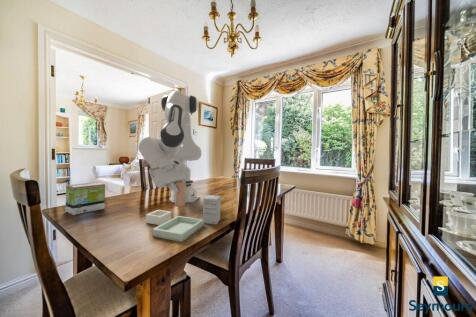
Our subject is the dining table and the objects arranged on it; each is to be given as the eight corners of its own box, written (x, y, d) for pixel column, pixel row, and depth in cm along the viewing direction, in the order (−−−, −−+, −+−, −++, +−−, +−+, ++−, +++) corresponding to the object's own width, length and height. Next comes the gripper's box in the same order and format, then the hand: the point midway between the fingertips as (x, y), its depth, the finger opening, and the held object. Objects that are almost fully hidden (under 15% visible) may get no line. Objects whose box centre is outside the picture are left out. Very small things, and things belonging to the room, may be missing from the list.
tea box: (73, 215, 102) (74, 187, 101) (65, 212, 107) (65, 184, 106) (105, 208, 115) (105, 183, 114) (96, 205, 120) (96, 181, 119)
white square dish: (157, 217, 104) (157, 209, 104) (171, 219, 102) (171, 211, 101) (145, 222, 96) (145, 214, 96) (160, 225, 94) (160, 216, 93)
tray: (178, 221, 99) (178, 215, 99) (203, 225, 95) (203, 219, 95) (152, 236, 82) (152, 229, 82) (182, 242, 78) (182, 234, 78)
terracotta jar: (178, 203, 91) (179, 181, 90) (187, 204, 89) (187, 182, 89) (172, 205, 86) (173, 182, 86) (181, 206, 85) (182, 183, 85)
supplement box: (206, 218, 105) (207, 194, 105) (220, 219, 104) (221, 195, 104) (202, 223, 98) (203, 197, 98) (216, 224, 97) (217, 199, 97)
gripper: (151, 163, 79) (171, 190, 77) (180, 161, 99) (197, 183, 96) (142, 174, 81) (161, 200, 78) (172, 170, 100) (189, 191, 98)
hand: (181, 190), depth 87 cm, fingers closed on terracotta jar, 4 cm apart
